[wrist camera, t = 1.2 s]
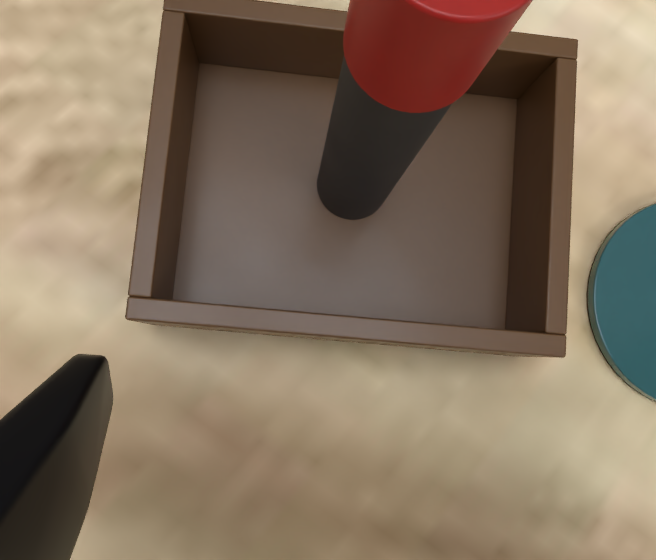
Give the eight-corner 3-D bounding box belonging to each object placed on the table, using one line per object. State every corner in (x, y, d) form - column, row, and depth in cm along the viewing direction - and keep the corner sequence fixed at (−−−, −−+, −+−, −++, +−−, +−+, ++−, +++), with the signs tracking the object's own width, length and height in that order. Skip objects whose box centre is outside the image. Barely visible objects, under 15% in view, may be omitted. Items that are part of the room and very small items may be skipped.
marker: (400, 209, 23) (587, -10, 9) (328, 232, 22) (405, 44, 9) (375, 139, 23) (518, -181, 9) (303, 161, 23) (339, -135, 9)
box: (518, 356, 23) (566, 358, 19) (151, 324, 22) (124, 319, 18) (531, 88, 24) (578, 38, 20) (184, 48, 23) (165, -12, 19)
